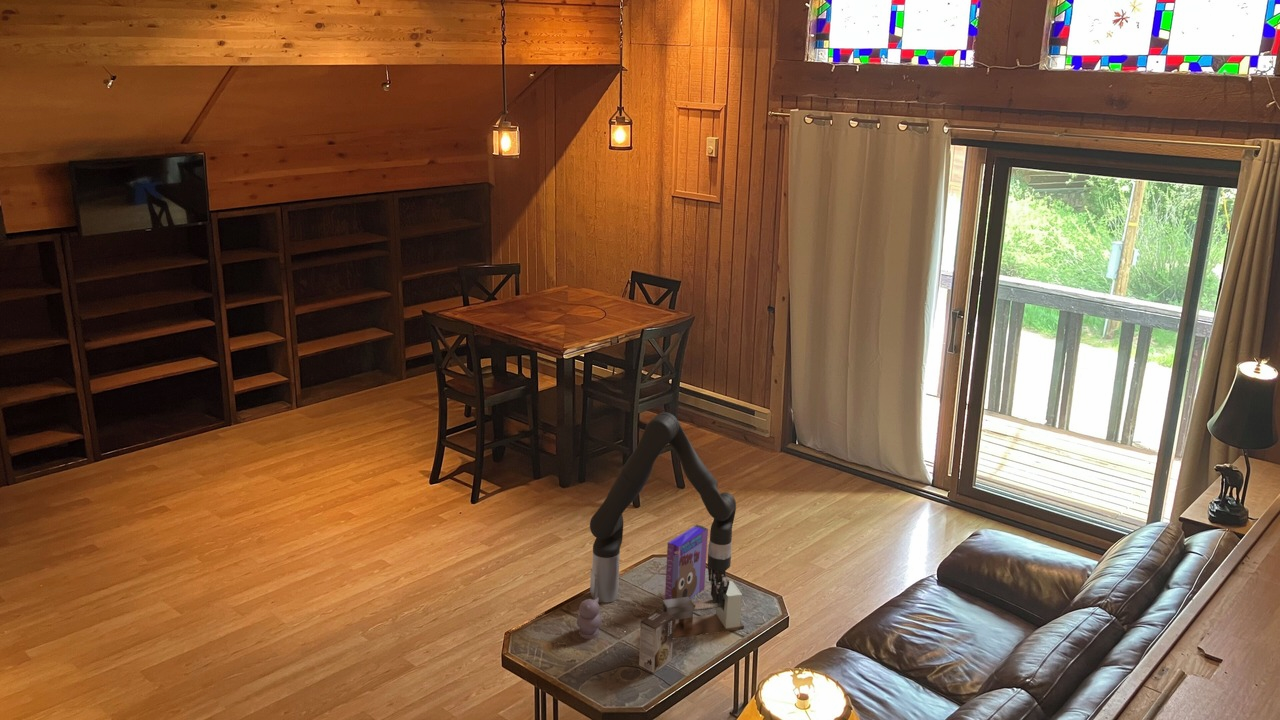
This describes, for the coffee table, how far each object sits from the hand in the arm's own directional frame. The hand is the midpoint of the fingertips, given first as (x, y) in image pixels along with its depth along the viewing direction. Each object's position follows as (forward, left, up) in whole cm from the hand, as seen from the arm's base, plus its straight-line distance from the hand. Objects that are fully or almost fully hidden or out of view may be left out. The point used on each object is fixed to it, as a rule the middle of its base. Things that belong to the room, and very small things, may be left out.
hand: (716, 598), depth 330 cm
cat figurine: (-42, +5, -10) cm, 43 cm away
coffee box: (-26, -16, -10) cm, 32 cm away
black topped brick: (-3, 0, -3) cm, 4 cm away
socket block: (+5, 0, -10) cm, 11 cm away
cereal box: (-4, +19, -10) cm, 22 cm away
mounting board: (-5, 0, -10) cm, 11 cm away
